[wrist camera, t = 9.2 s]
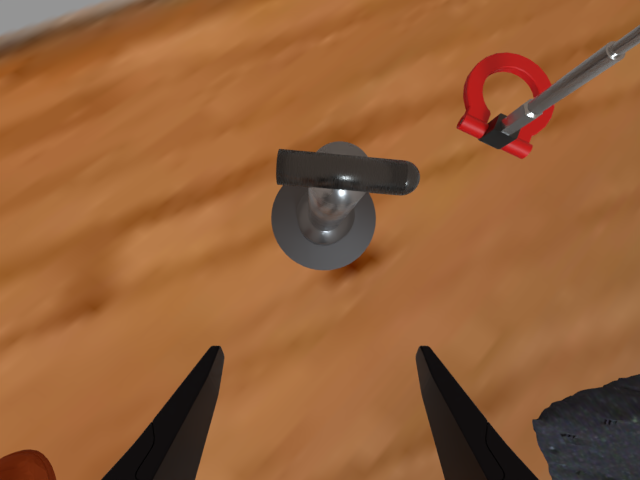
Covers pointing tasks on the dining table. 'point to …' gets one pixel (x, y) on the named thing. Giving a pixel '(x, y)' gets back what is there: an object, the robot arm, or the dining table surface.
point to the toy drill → (26, 466)
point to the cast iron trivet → (593, 433)
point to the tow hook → (535, 112)
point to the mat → (311, 253)
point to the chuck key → (339, 185)
